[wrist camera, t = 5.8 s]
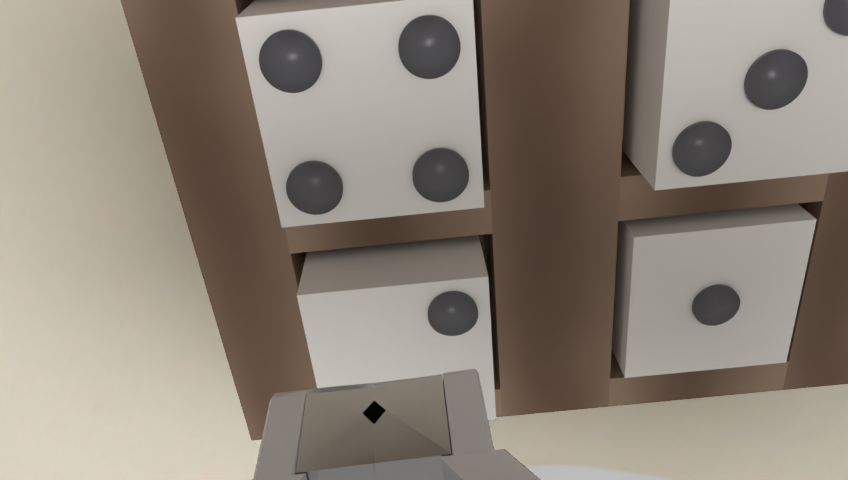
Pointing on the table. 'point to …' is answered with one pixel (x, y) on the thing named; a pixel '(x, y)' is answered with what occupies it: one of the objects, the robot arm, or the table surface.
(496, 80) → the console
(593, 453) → the table surface
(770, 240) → the button one dot
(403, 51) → the button four dots
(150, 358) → the table surface
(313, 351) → the button two dots
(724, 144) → the button three dots
